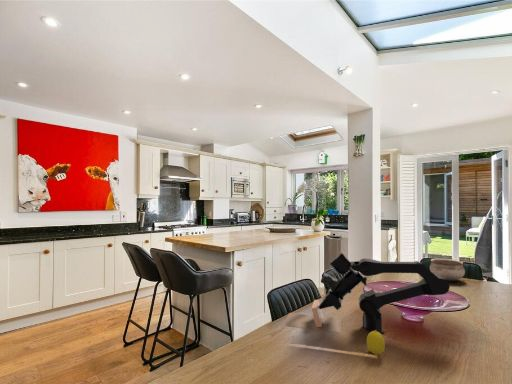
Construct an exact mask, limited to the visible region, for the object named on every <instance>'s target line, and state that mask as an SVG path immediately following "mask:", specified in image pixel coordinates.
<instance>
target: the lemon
mask: <svg viewBox="0 0 512 384" xmlns="http://www.w3.org/2000/svg"><path fill="white" fill-rule="evenodd" d="M385 343H386V342H385V339H384V337H383V334H382V333H381V334H380V333H379V332H377V331H376V330H374V331H372V332H369V333H368V334H367V336H366V346H367V349H368V351H369V352H370V353H372V354H373V355H374V356H375V357H377V356H379V355H381V354H383V352H384V350H385V348H386V344H385Z"/></svg>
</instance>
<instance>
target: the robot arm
mask: <svg viewBox="0 0 512 384" xmlns="http://www.w3.org/2000/svg"><path fill="white" fill-rule="evenodd" d="M329 265H330V266H331V267H332V269H334V270H335V272H336V273H337V274H338V275H343V276H342V277H339V278H335V277H333V276H331V275H330V274H328V273H326V272H324V273H323V275H322V277H321V279H320V282H321V284H323V285H326V286H327V287H328V288H329V289H328V288H326V290H325V296H324V298H323V299H322V300H321V302H320V305H319V308H320V309H321V310H323V309H327V308H330V307H333V308H334V309H336V310H337V311H338V310H340V309H341V308H342V301H343V300H344V297H346V295H348V294H351V293H352V290H354V289H355V288H356V287H357V286H358V285H359V284H361V283H362V284H363V285H364V286H367V280H368V278H367V277H371V276H372V277H373V276H377V275H380V274H418V275H419V276H420V277H422V279H421V280H419V281H418V282H416V283H411V284H407V285H406V286H405V285H404V286H401V287H397V288H394V289H389V290H385V291H383V292H375V290H374V289H371V290H368V291H363V292H362V294H360V295H359V297H358V305H359V309H360V310H361V311H362V312H363V313H362V327H363V328H364V330H365V331H367V332H369V333H370V332H372V331H374V330H376V331H377V332H379V333H380V334H381V335H382V334H384V333H386V331H385V330H383V329H382V328H383V327H382V325H383V324H382V323H383V322H382V311H381V308H383V307H384V306H386V305H389V304H392V303H393V304H394V303H397V302H402V301H405V300H410V299H412V298H416V297H419V296H420V297H421V296H440V295H442V296H443V295H445V294H446V295H447V294H448V293H449V290H450V289H451V288H450V284H449V283H450V282H447V281H446V280H445V279H444V278H442V277H441V276H439V275H437V274H433V273H432V272H431V271H430V269H428V268H427V267H426V266H425V265H424V264H423V263H422V262H421V261H418V260H417V261H415V260H414V261H380V260H376V259H371V258H361V259H360V260H357V261H356V260H355V261H350V260H349V259H348V258H347V257H346V255H345V254H344V253H343V252H341V253H339V254H338V255H337V256H335V257H333V258H332V259H331V261H330V262H329Z"/></svg>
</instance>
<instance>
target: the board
mask: <svg viewBox="0 0 512 384" xmlns="http://www.w3.org/2000/svg"><path fill="white" fill-rule="evenodd" d="M341 320H342V319H341V318H340V317H339V318H338V317H329V316H323V322H322V327H316V324H315V320H314V316H313V314H312V315H310V314H304V313H303V314H301V313H293V312H288V315H287V317H286V319H285V321H284V322H283V324H282V325H283V327H291V328H298V329H306V330H307V329H308V330H313V331H314V330H315V331H321V332H329V333H337V334H341V326H342V325H341V323H342V321H341Z"/></svg>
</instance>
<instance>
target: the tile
mask: <svg viewBox="0 0 512 384" xmlns="http://www.w3.org/2000/svg"><path fill="white" fill-rule="evenodd" d="M312 302H313V303H312V305H311V312H312V316H314V320H315V324H316V327H322V322H323V317H324V315H323V311H322V310H323V309H320V308H319V305H320V304H321V302H320V300H319V299H314V300H313V301H312Z"/></svg>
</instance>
